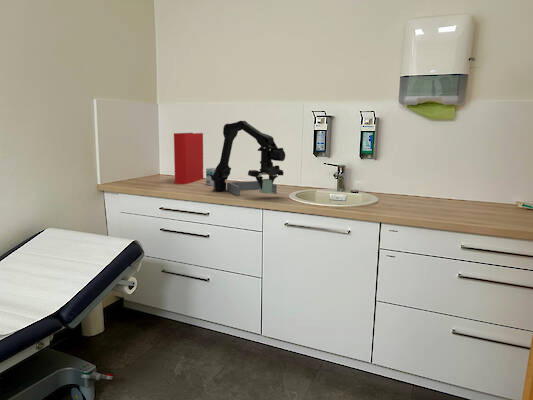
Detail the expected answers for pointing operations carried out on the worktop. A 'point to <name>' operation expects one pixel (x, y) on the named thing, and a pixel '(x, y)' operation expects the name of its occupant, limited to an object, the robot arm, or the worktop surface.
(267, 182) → the sage block
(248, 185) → the open-front crate
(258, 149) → the robot arm
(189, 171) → the book
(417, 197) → the worktop surface
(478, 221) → the worktop surface
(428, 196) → the worktop surface
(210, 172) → the light bulb box
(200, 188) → the worktop surface
